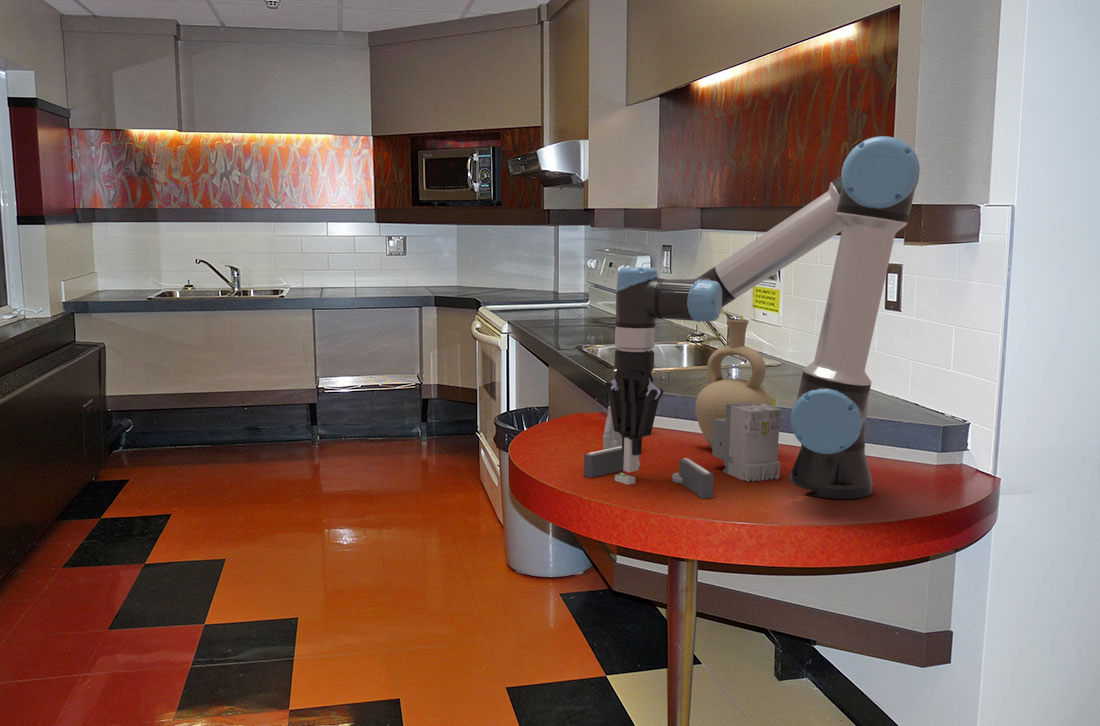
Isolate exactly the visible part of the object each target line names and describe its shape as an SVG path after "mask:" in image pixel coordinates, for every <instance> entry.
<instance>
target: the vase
mask: <svg viewBox="0 0 1100 726" xmlns="http://www.w3.org/2000/svg"><path fill="white" fill-rule="evenodd" d="M726 322H727V326H728V345H725V346H723V347H722V346H721V347H720V348H718V349H716V350H715V351H714V352H713V353H712V354H711V355H710V357H709V359H708V361H707V364H706V365H707V367H706V370H707V374H708V375H707V376H708V378H709V379H708V380H709V382H710V384H708V385H706V386H704V388H703V389H701V391H700V392H699V393H698V395H697V397H696V400H695V416H696V419H697V423H698V425H699V428H700V430H701V433H702V435H703V437H704V439H705V440H706V442H707V444H708V446H709V447H710V448H711V449H712V450H713V428H714V419H722V418H726V405H727V404H743V403H762V404H766V405H769V406H772V407H773V403H772V399H771V396H770V394H769V393H768V392H767V390H766V389H765V388H763V386H762V383H763V382H764V380H765V377H766V371H767V369H766V368H767V367H766V363H765V360H764V358H763V356H762V355H761V353H760V352H758V351H757V350H755V349H754V348H752V347H749V346H746V345H745V343H746V342H745V341H746V335H747V334H746V333H747V327H748V325H749V320H748V319H745V318H730V319H729V318H728V319H726ZM727 356H737V357H741V358H744V359H745V360H747V361H748V363H749V364H750V367H751V376H750V378H749V379H743V378H724V376H723V372H722V362H723V360H724V359H725V358H726V357H727Z"/></svg>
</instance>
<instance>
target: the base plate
mask: <svg viewBox="0 0 1100 726" xmlns="http://www.w3.org/2000/svg"><path fill="white" fill-rule="evenodd" d="M614 481H615V482H617V483H622V484H624V485H627V486H628V485H629V486H630V485H633V484H635V483H636V476H633V475H629V474H625V473H624V472H619V473H618V474H617V473H616V474H614Z"/></svg>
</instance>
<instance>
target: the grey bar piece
mask: <svg viewBox="0 0 1100 726" xmlns="http://www.w3.org/2000/svg"><path fill="white" fill-rule="evenodd" d="M678 466H679V467H678V472H674V473H672V476H671V482H673V483H676V484H679V485H683V486H684V487H686V488H688V490H690V491H691V492H693V493H694V494H696V495H697V496H698V497H699V498H701V499H713V498H714V482H715V481H714V476H715V475H714V474H713V473H712V472H710V471H709V470H707V469H706V468H704V467H703V466H701V465H699V464H698V463H696V462H695V461H693V460H692V459H690V458H689V457H683V458H680V459H679V464H678Z"/></svg>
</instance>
